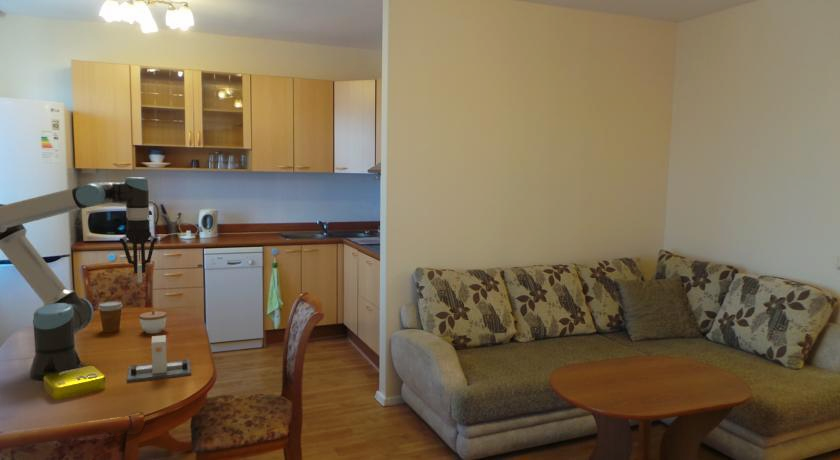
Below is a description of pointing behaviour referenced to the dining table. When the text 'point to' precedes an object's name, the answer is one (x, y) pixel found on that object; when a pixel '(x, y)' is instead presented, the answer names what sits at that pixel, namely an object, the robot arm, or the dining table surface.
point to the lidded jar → (153, 321)
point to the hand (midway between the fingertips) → (140, 281)
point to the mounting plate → (145, 373)
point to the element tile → (74, 382)
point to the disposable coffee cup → (110, 315)
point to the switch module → (159, 354)
